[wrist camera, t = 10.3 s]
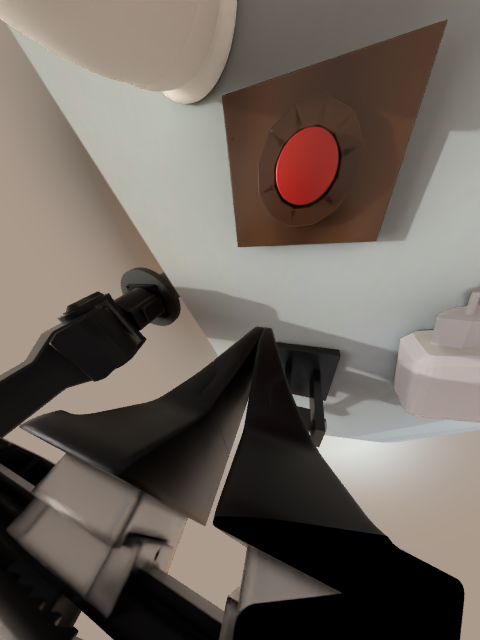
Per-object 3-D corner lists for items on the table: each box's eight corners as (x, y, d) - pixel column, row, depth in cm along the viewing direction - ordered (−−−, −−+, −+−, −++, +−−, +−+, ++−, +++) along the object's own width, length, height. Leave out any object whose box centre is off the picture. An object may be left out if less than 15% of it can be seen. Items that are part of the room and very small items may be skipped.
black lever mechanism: (325, 394, 30) (331, 462, 22) (273, 384, 33) (264, 441, 25) (339, 349, 24) (354, 422, 16) (274, 341, 26) (261, 400, 19)
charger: (557, 264, 13) (489, 385, 20) (402, 288, 17) (391, 382, 24) (653, 291, 10) (529, 427, 17) (429, 314, 14) (406, 416, 21)
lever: (305, 418, 31) (304, 439, 29) (286, 413, 32) (285, 433, 30) (315, 406, 21) (314, 436, 20) (288, 400, 22) (286, 429, 21)
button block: (243, 242, 19) (232, 251, 16) (231, 107, 14) (210, 82, 10) (368, 235, 16) (384, 246, 13) (424, 47, 10) (477, -18, 7)
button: (278, 206, 13) (275, 207, 12) (279, 141, 11) (275, 134, 10) (329, 200, 12) (331, 201, 11) (340, 127, 10) (345, 117, 9)
